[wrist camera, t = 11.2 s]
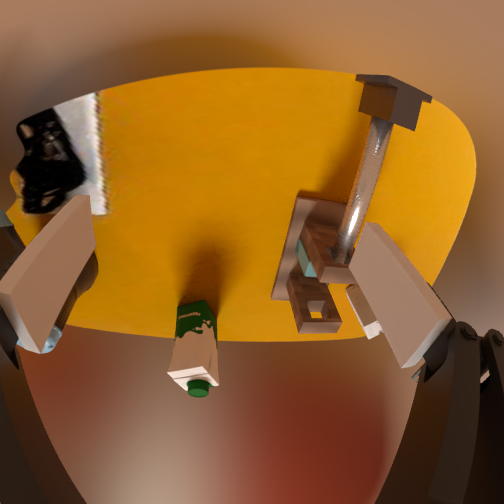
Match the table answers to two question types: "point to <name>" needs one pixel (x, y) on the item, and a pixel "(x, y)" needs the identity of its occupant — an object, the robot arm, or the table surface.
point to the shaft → (375, 149)
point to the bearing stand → (318, 249)
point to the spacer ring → (304, 259)
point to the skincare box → (363, 311)
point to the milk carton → (195, 349)
